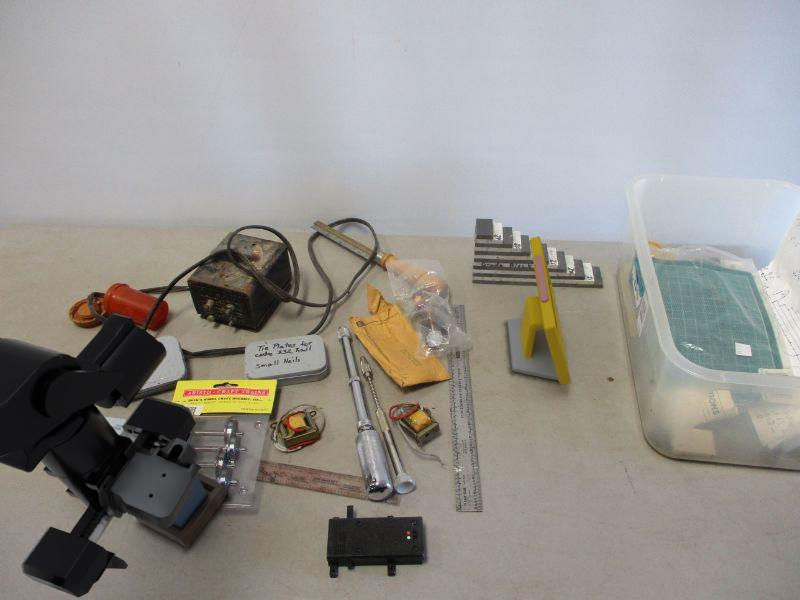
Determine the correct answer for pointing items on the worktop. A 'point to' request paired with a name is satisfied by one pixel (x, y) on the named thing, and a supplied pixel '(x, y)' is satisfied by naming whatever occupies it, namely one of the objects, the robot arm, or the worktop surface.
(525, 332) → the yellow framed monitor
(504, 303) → the worktop surface
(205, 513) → the base pad
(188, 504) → the blue faceted prism
